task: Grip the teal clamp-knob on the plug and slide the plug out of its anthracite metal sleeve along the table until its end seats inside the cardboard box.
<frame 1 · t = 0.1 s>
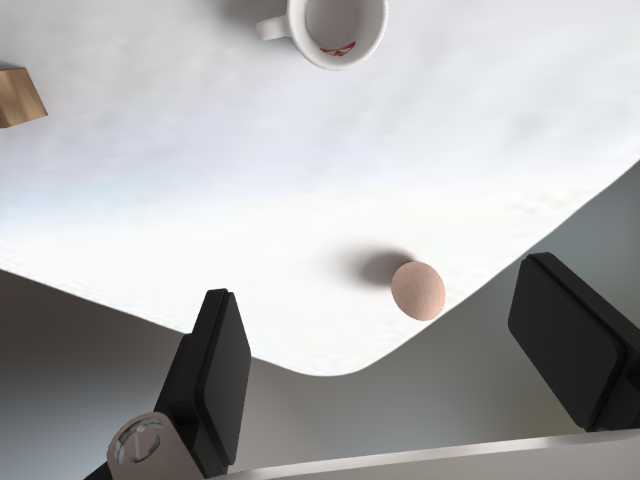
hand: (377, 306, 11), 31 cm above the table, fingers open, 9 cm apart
cup: (316, 21, 34), on the table
cardboard box: (0, 96, 36), on the table
egg: (408, 269, 50), on the table
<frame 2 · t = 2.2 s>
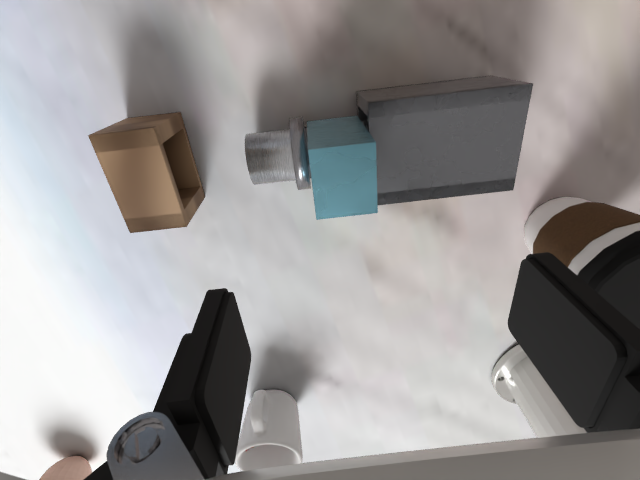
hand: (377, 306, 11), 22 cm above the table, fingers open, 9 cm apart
cup: (271, 393, 47), on the table
coffee cup: (552, 223, 36), on the table
plug: (374, 154, 26), point 5 cm above the table, slide at 0.0 cm
sleeve: (421, 130, 30), on the table
cardboard box: (168, 159, 31), on the table
egg: (79, 456, 53), on the table
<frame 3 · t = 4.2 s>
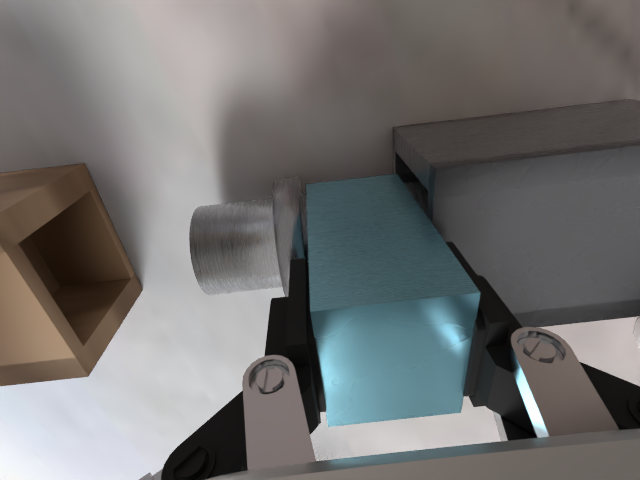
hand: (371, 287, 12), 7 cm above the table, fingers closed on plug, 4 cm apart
plug: (434, 254, 14), point 5 cm above the table, slide at 0.0 cm, touching gripper
sleeve: (498, 189, 18), on the table
cardboard box: (74, 237, 18), on the table
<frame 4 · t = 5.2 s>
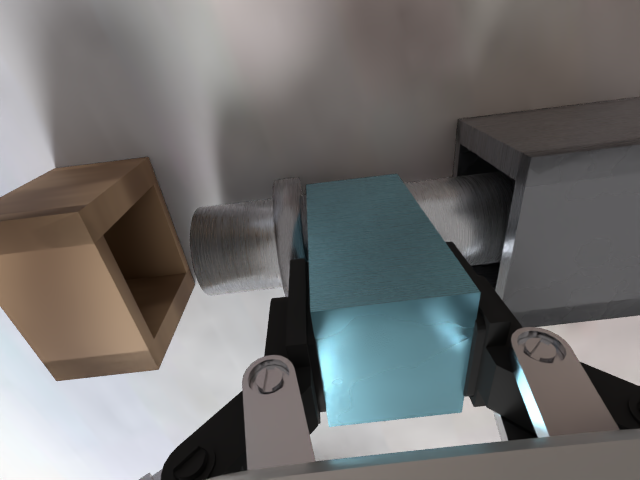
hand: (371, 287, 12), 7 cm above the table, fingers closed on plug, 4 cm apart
plug: (434, 253, 14), point 5 cm above the table, slide at 3.0 cm, touching gripper
sleeve: (557, 181, 18), on the table
cardboard box: (132, 232, 18), on the table
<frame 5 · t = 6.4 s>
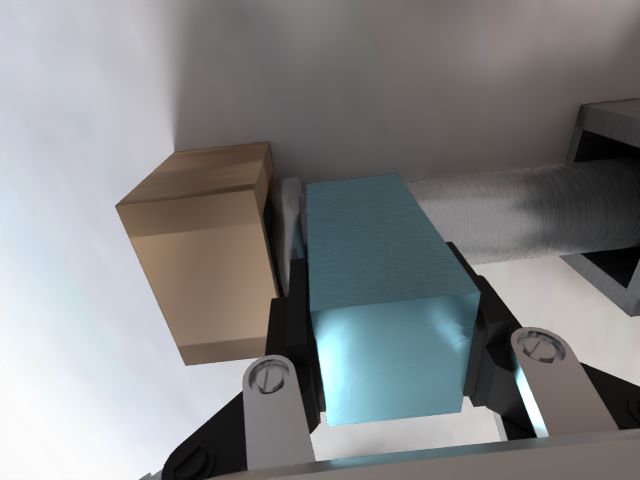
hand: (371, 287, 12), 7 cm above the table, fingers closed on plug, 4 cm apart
plug: (434, 253, 14), point 5 cm above the table, slide at 8.8 cm, touching gripper
cardboard box: (239, 218, 18), on the table
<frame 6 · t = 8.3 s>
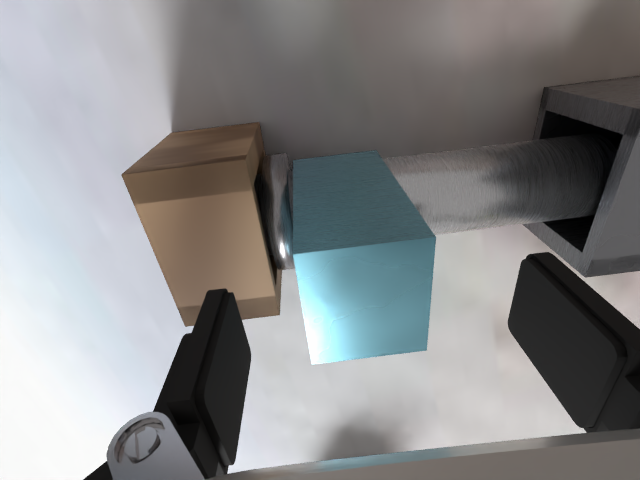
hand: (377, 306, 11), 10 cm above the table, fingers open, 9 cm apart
plug: (408, 220, 15), point 5 cm above the table, slide at 8.8 cm
sleeve: (625, 147, 20), on the table
cardboard box: (232, 195, 20), on the table
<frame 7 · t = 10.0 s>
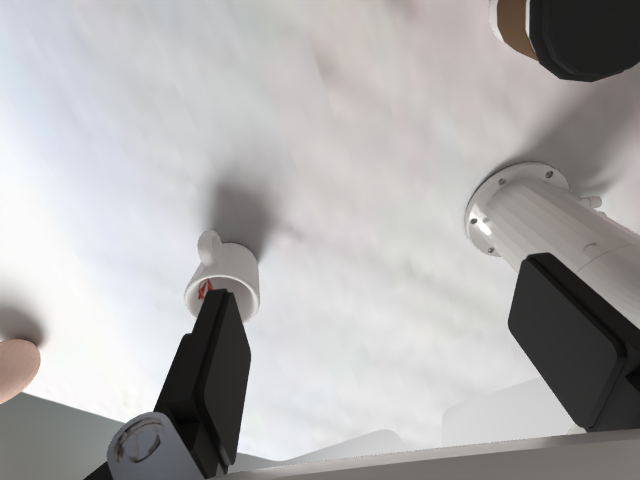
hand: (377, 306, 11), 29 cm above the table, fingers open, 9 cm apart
cup: (228, 251, 44), on the table
coffee cup: (519, 3, 32), on the table
egg: (27, 343, 49), on the table
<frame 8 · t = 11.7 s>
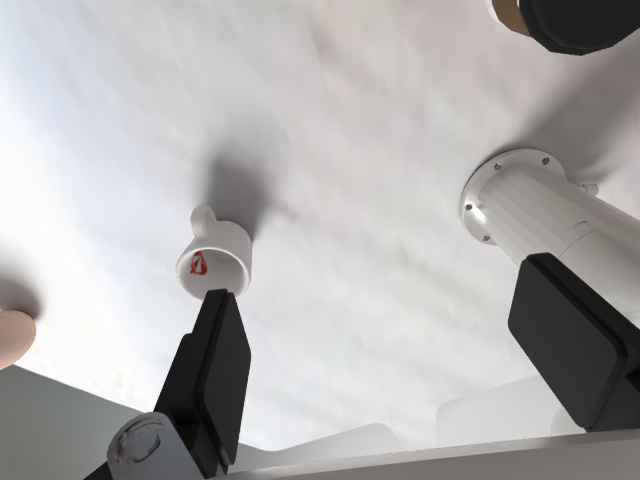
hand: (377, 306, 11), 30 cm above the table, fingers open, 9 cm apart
cup: (223, 229, 44), on the table
egg: (24, 315, 49), on the table
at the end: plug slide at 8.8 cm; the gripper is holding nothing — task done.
